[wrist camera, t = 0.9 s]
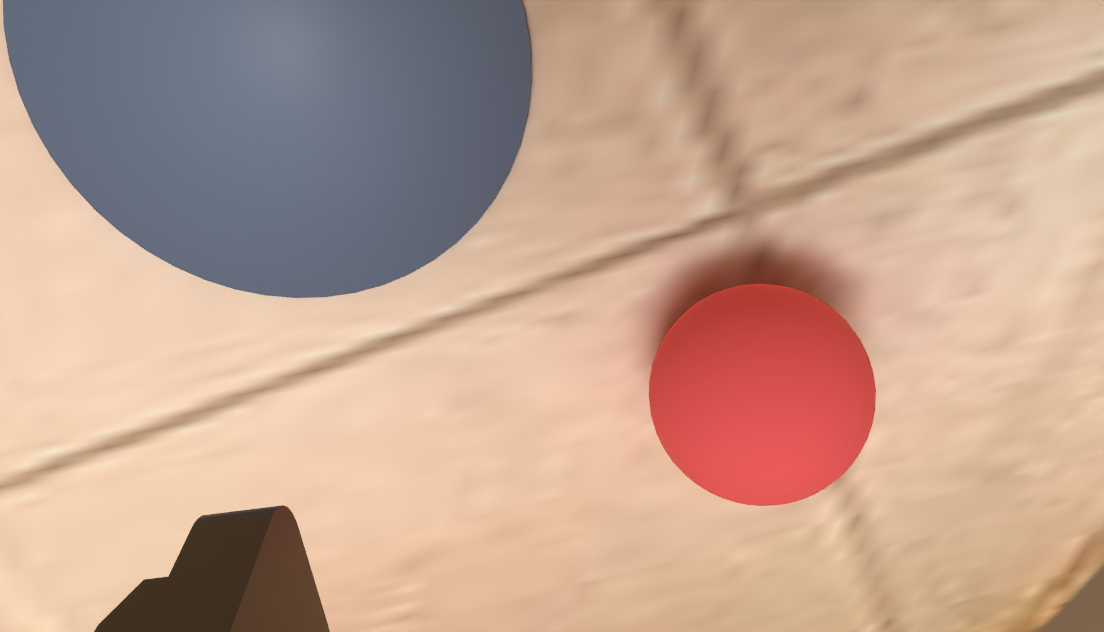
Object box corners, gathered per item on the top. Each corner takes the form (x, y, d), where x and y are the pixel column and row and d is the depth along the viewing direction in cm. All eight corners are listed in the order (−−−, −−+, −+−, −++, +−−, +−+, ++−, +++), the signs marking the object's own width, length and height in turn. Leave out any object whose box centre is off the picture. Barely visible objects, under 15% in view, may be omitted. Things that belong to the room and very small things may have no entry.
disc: (118, -364, 20) (114, -365, 19) (631, -12, 23) (632, -10, 23) (-59, 145, 25) (-63, 148, 25) (383, 366, 29) (382, 369, 28)
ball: (720, 209, 26) (768, 316, 21) (879, 309, 28) (961, 430, 23) (598, 364, 29) (615, 494, 24) (752, 447, 30) (800, 585, 25)
